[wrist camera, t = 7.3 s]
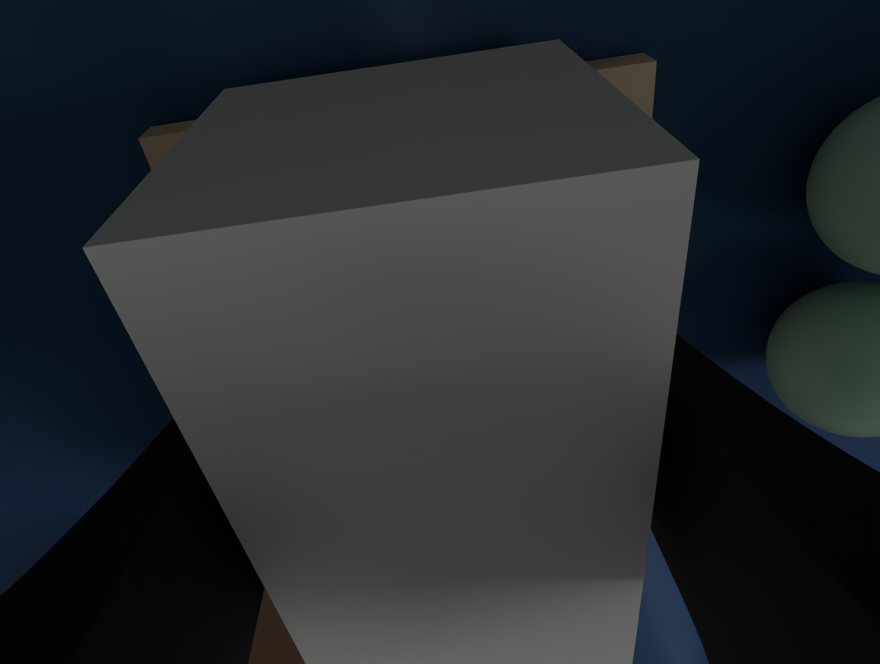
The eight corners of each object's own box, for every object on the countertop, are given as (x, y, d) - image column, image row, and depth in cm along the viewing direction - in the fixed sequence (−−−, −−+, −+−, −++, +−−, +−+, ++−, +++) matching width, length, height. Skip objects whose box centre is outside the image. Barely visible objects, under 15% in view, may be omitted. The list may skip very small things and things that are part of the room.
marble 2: (903, 243, 12) (1033, 330, 10) (860, 360, 14) (961, 459, 11) (752, 264, 12) (843, 357, 10) (728, 377, 14) (800, 480, 11)
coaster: (643, 53, 10) (656, 60, 9) (618, 414, 14) (626, 432, 14) (150, 126, 10) (138, 138, 9) (286, 459, 14) (283, 479, 14)
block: (224, 89, 9) (83, 248, 5) (559, 39, 9) (700, 158, 5) (351, 484, 14) (334, 717, 10) (562, 456, 14) (629, 680, 10)
